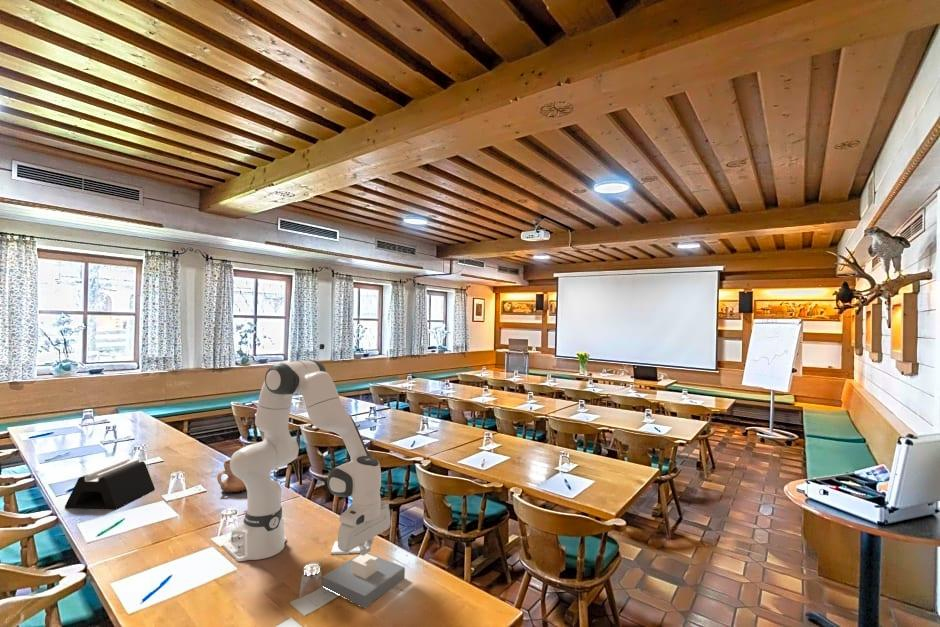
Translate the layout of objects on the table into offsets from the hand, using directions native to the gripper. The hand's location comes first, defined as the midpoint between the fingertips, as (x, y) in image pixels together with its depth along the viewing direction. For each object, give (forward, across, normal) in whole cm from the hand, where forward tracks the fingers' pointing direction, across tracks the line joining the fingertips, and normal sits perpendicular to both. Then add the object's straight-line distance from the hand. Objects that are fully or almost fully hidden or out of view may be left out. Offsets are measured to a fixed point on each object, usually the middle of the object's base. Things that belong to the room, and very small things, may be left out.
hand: (365, 553), depth 138 cm
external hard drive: (+10, -13, -20) cm, 26 cm away
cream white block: (+9, 0, 0) cm, 9 cm away
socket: (+9, 0, 0) cm, 9 cm away
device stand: (+9, +15, -143) cm, 144 cm away
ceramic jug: (+9, -22, -107) cm, 110 cm away
